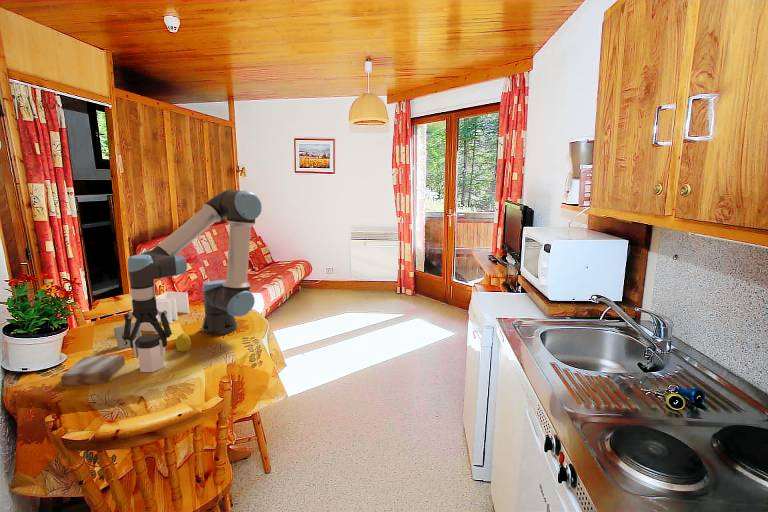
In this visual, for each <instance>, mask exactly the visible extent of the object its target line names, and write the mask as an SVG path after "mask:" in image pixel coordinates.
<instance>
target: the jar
mask: <svg viewBox="0 0 768 512" xmlns="http://www.w3.org/2000/svg"><path fill="white" fill-rule="evenodd" d="M141 335H142V334H141ZM160 339H161V337H160V336H159V334H158V333H157V332H156V333H145V334H143V335H142V336H140V337H138V338H137V339H136V345H137V348H138V357H137V358H138V364H139V371H140V373H154V372H157V371H159V370H161V369H164V368H165V360H164V356H161V353H160V344H159V340H160Z"/></svg>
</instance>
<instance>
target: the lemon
mask: <svg viewBox="0 0 768 512" xmlns="http://www.w3.org/2000/svg"><path fill="white" fill-rule="evenodd" d="M175 339H176V340H175V347H176V349H177V350H178V351H179V352H183V353H186V351H188V350H189V349H190V348H191V346H192V340H191V337H190V336H189V335H188V334H186V333H181V334H179V335H178V336H177V337H176V338H175Z"/></svg>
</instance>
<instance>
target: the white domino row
mask: <svg viewBox="0 0 768 512" xmlns="http://www.w3.org/2000/svg"><path fill="white" fill-rule="evenodd" d="M155 297H156V305H157V310H158V311H162V312H163V311H166V312H167V315H166V317H167V320H168V323H169V325H170V324H171V325H172V324H173V321H178V320H179V318H178V313H181V314H182V313H186V314H190V306H189V305H190V303H189V293H188V292H181V291H180V292H179V291H166V292H163V293H162V294H160V295H157V296H155ZM156 318H157V319H158V322H159V323H162V322H161V318H160V317H159V315H158V314H157V316H156ZM136 320H137V319H136V318H135V317H134V316H133V323H134V322H136ZM140 330H141V332H142V331H144V332H156V333H157V331H156V330H155V328H154V327H153V325H151V323H147V322H144V323H141V325H140Z"/></svg>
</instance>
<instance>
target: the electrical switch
mask: <svg viewBox="0 0 768 512" xmlns="http://www.w3.org/2000/svg"><path fill="white" fill-rule="evenodd" d="M134 326H135V322H134V321H133V322H131V330H130V335H131V333H132V331H133V328H134ZM124 328H125V324H124V325H119V326H115V327H114V328H113V333H114V337H115V340H116V345H117V349H118V350H123V349H127V348H131V346H130V341H129V340H127V339H126V340H124ZM140 336H142V331H141V330H140V327H139V330H138V332H137V335H136V338H138V337H140ZM136 338H135V339H136Z"/></svg>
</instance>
